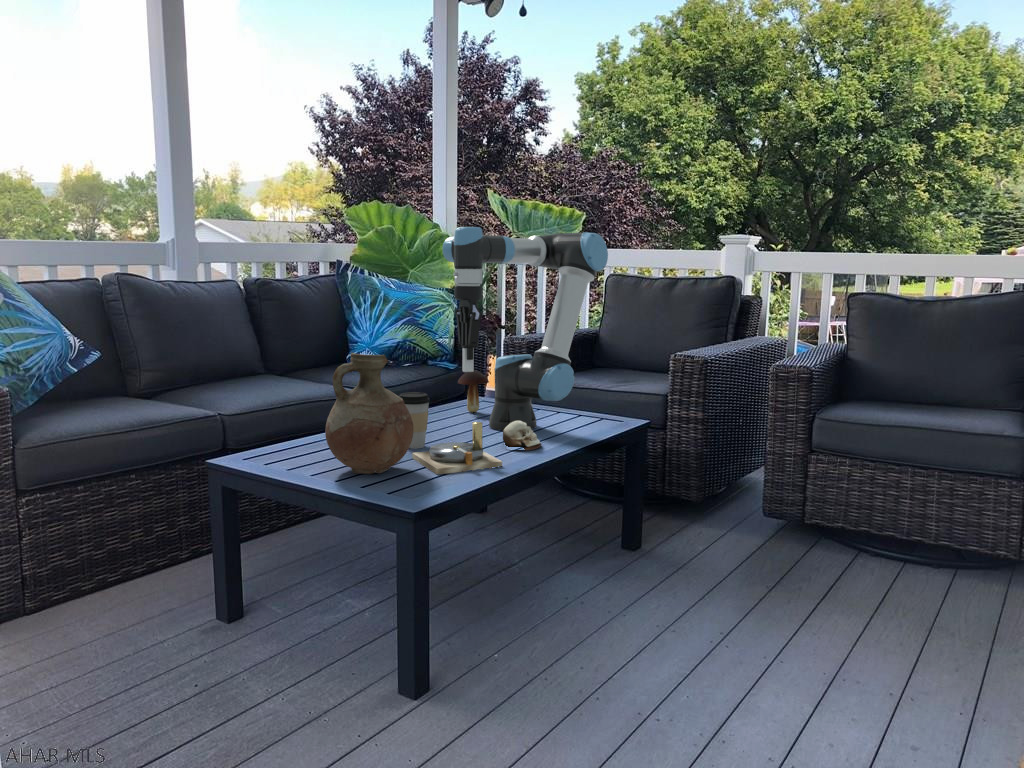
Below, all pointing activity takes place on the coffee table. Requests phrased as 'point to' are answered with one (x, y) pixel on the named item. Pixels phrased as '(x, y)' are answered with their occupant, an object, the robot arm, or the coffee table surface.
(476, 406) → the decorative mushroom
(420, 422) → the coffee cup
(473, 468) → the base plate
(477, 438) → the turntable
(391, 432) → the jug
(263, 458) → the coffee table surface
